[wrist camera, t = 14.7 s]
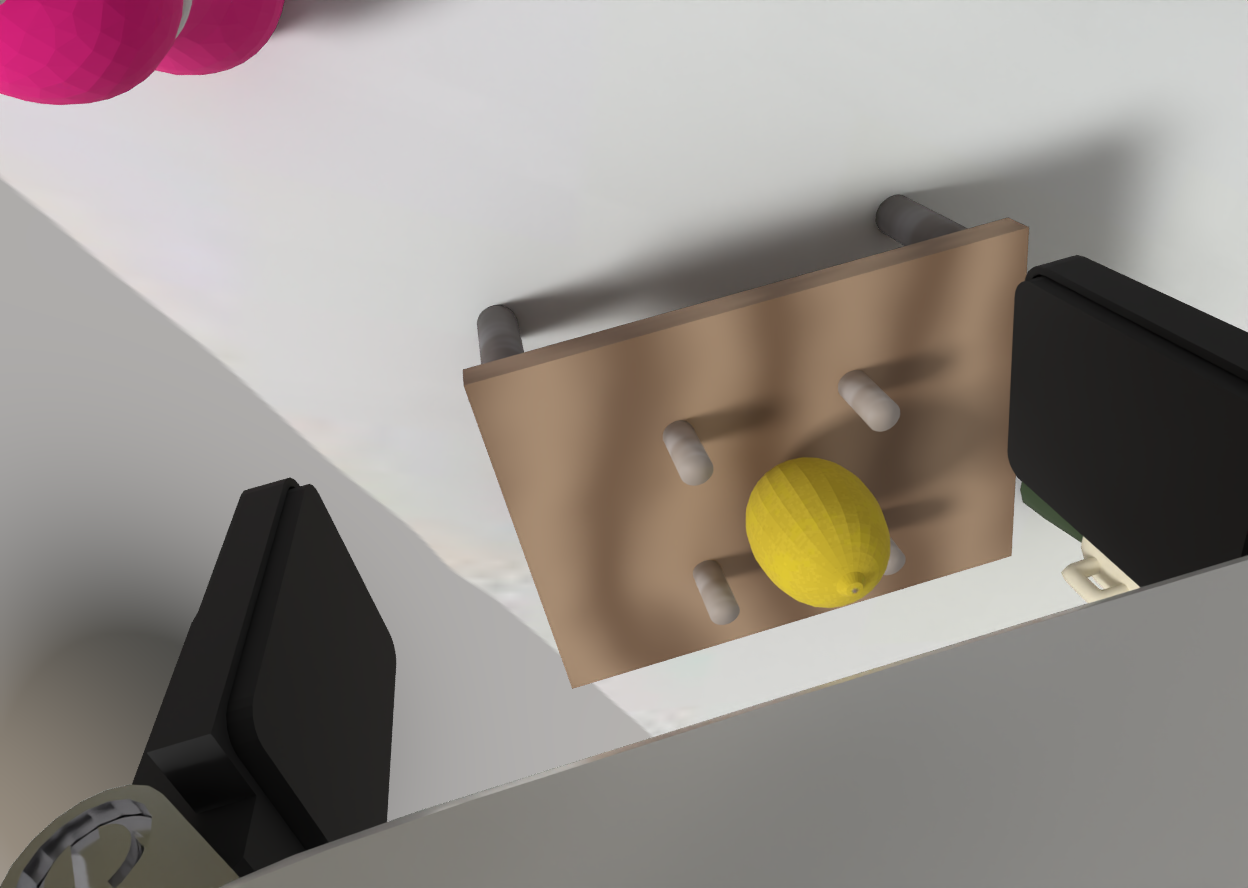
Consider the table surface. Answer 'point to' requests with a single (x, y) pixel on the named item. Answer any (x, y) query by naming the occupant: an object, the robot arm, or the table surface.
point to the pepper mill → (122, 43)
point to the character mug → (1090, 565)
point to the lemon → (817, 532)
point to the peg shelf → (755, 437)
